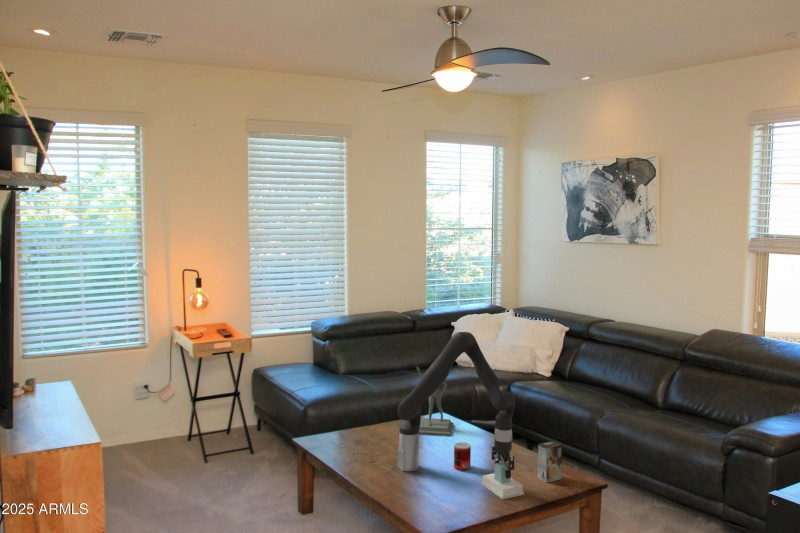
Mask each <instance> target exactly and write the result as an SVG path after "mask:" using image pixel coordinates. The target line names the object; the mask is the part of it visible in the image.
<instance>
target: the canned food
mask: <svg viewBox="0 0 800 533" xmlns="http://www.w3.org/2000/svg"><path fill="white" fill-rule="evenodd" d="M471 449H472V448H471V444H470V443H467V442H461V441H460V442H456V443H454V445H453V468H454V469H455V470H456V471H461V472H465V471H468V470H470V468H471V455H472V454H471V451H472V450H471Z"/></svg>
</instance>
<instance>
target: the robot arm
mask: <svg viewBox="0 0 800 533" xmlns="http://www.w3.org/2000/svg"><path fill="white" fill-rule="evenodd" d="M464 353H465V355H466V356H467V357H468V358H469V359H470V361H471V362H472V364H473V366H474V369H475V372H476V373H475V374H476V375H477V377H478V379H479V380H480V383H481V384H482V385H483V387H484V389H485V390H486V392H487V394H488V397H489V399H490V402H491V404H492V406H493V408H495V410H497V411H498V413H497V414H496V416H495V419H494V420H495V427H494V442H493V443H494V444H493V446H492V447H491V461H493V463H494V464H495V463H501V462H503V465H504V466H505V468H506V474H505V478H507V479H508V478H512V477H511V476H512V471H514V470H515V456H514V455H511V454H510V451H512V449H513V430H512V429H513V427H512V425H513V420H512V419H513V416H514V412H515V409H516V397H515V395H514V394H513V393H512V392H511V391H503V392H502V391H501V389H500V388H501V386H502V383H501V380H500V379H499V377H498V375H496V373H495V372H494V370H493V369H492V367H491V366H490V363H489V362H488V361H487V359H486V357H485V355H484V353H483V352H482V349H481V348H480V346H479V343H478V342H477V339H476V337H475V336H474V334H472V333H471V332H468V331H458V332H456V333H453V335H452V336H451V337H450V339H449V341H448V342H447V344H446V346H445V347H444V348H443V350H442V351H441V353H440V354H439V355H438V357H436V359H435V360H434V361H433V362H432V363H431V364H430V366H429V367H428V368H427V369H426V371H425V372H424V373H423V374H422V375H423V376H422V377H420V379H419V380H418V382H417V383H416V385H415V386H414V388H413V389H412V390H411V392H410V393H409V394H408V395H407V396H406V397H405V398H404V399H403V400H402V401H401V402H400V403H399V404H398V406H397V409H396V410H397V415H398V417H399V419H400V420H401V422H400V424H399V432H398V433H399V434H398V435H399V438H398V439H399V445H398V447H397V468H398V469H399V470H401V471H402V472H414V471H417V470H419V468H420V434H419V427H420V422H421V420H422V418H421V417H422V416H421V415H422V405H424V403H425V402H426V400H428V399H429V397H430V396H431V395H432V394H433V393H434V392H435V391H436V390H437V389H438V388H439V389H440V386H442V385H443V384H442V383H443V382H444V381H445V382H446V380H447V378H448V376H449V374H450V371H451V369H452V366H453V365H454V363H455V361H456V360H458V358H459V357H460V356H461V355H462V354H464ZM507 465H508V467H507Z"/></svg>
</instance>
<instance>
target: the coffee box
mask: <svg viewBox="0 0 800 533" xmlns="http://www.w3.org/2000/svg"><path fill="white" fill-rule="evenodd" d="M562 476H563V444H561V443H559V442H556V441H554V440H551V441H547V442H543V443H538V444H537V478H538V479H539V480H540V481H542V482H545V483H550V482H554V481H558V480H562V478H563V477H562Z"/></svg>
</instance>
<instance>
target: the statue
mask: <svg viewBox="0 0 800 533" xmlns="http://www.w3.org/2000/svg"><path fill="white" fill-rule="evenodd" d="M415 368H416V371H417V372H418V374H419V377H420V378H421V377H422V376H423V375H424V374H423V373H422V372H421V369H420V367H419V366H416V367H415ZM441 385H442V386H443V388H442V391H441V392H440V387H439V388H438V389H437V390H436V391H435V392H434V393H433V394H432V395H431V396H430V397H428V406H429V409H428V418H427V417H422V418H421V422H420V427H419V436H420V435H422V436H436V437H437V436H438V437H440V436H441V437H451V436H452V433H453V429H454V425H455V423H454V422H453V421H451V419H447V418H444V415H443V407H442V398H443V396H444V393H445V392H446V390H447V387H448V384H447V382H446V380H445V381H444V382H443V383H442V384H441ZM434 405H436V407H437V410H438V411H439V415H440V418H432V415H433V407H434Z"/></svg>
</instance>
